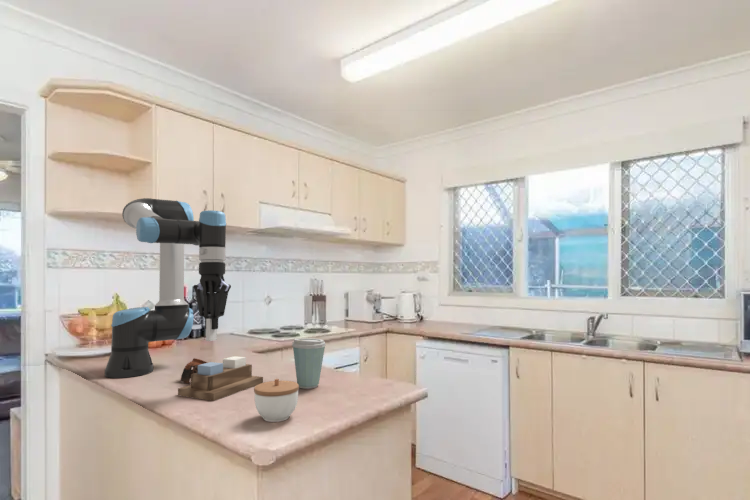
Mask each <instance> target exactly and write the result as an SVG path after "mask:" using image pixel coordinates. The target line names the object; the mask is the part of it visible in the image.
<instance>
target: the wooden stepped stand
mask: <svg viewBox="0 0 750 500" xmlns="http://www.w3.org/2000/svg"><path fill="white" fill-rule="evenodd" d="M252 373H253V366H252V364H248V363H246V366H242V367H239V368H235V369H234V368H225V367H223V372H221V373H218V374H214V375H211V376H209V375H201V374H198V373H194V374H191V378H190V384H188V385H185V386H182V387H179V388H178V387H177V396H178V395H181V396H180V397H185V396H187V397H186V398H191V397H193V399H198V398H199V400H204V399H205V401H211V402H215V401H218V400H220V399H223V398H225V397H229V396H231V395H234V394H237V393H240V392H243V391H245V390H248V389H251V388H254V387H255V386H256V385H258V384H261V383H264V377H263V376H259V375H258V376H257V375H253V374H252Z"/></svg>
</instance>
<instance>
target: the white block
mask: <svg viewBox="0 0 750 500" xmlns="http://www.w3.org/2000/svg"><path fill="white" fill-rule="evenodd" d="M222 363H223V367H225V368H234V369H235V368H239V367H242V366H246V364H247V357H246V356H234V355H233V356H230V357H229V356H228V357H227V358H226V357H225V358H222Z"/></svg>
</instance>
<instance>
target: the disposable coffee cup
mask: <svg viewBox="0 0 750 500" xmlns="http://www.w3.org/2000/svg"><path fill="white" fill-rule="evenodd" d="M291 347H292V351H293V359H294V366H295V367H294V368H295V374H296V375H295V376H296V383H298V385H299V388H300V389H305V390H308V389H309V390H310V389H314V388H317V387H318V386H319V384H320V379H321V372H322V366H323V362H324V355H325V354H324V352H325V349H326V347H327V346H326V342H325V340H324V339H320V338H313V337H312V338H311V337H308V338H307V337H306V338H305V337H304V338H303V337H301V338H300V337H299V338H297V337H296V338H294V339H293V341H292V343H291Z"/></svg>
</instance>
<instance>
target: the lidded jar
mask: <svg viewBox="0 0 750 500" xmlns="http://www.w3.org/2000/svg"><path fill="white" fill-rule="evenodd" d="M253 392H254V404H255V409H256V410H257V411H256V412H257V413H258V414H259V416H260V417H261V418H263V420H264V421H265V422H267V423H268V422H269V423H279V422H283V421H284V422H285V421H286V420H288V419H289V418H290V416H291V415H292V414H293V413H294V411H295V410H296V408H297V405H298V400H299V385H298V383H297V381H291V380H280V379H279V378H274V380H271V381H263V383H261V384H258V385H256V386H254V387H253Z"/></svg>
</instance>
